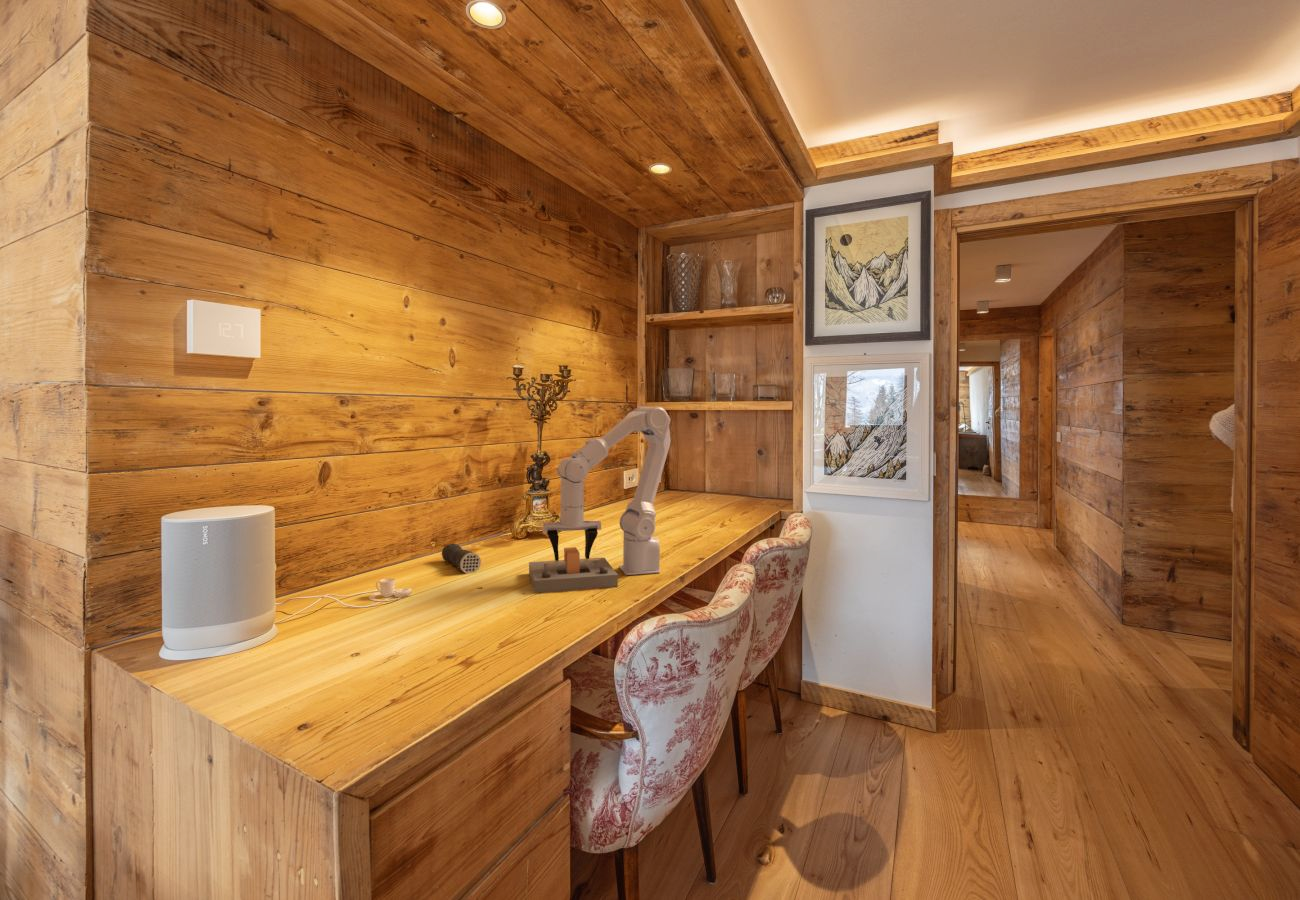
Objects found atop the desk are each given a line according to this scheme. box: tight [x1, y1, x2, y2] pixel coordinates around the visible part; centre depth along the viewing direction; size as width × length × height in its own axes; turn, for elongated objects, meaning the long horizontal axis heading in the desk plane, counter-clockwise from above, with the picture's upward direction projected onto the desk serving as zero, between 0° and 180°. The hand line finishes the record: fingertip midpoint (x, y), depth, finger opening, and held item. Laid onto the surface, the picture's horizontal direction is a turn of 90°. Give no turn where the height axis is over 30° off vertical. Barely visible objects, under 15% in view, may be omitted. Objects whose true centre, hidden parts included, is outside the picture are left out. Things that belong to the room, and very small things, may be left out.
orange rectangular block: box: [563, 546, 581, 574], centre depth 143 cm, size 3×6×5 cm, turn 16°
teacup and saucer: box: [368, 577, 412, 603], centre depth 129 cm, size 9×8×4 cm
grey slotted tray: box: [528, 557, 619, 594], centre depth 143 cm, size 20×16×5 cm
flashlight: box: [441, 543, 482, 575], centre depth 154 cm, size 15×5×5 cm, turn 40°
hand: (571, 558), depth 143 cm, fingers open, 7 cm apart
